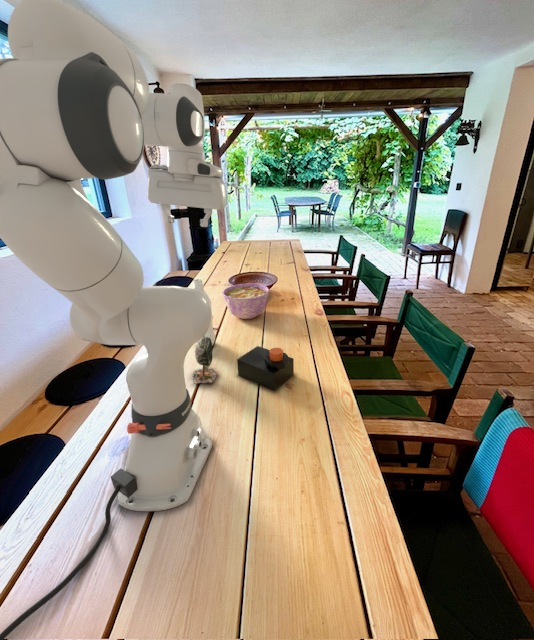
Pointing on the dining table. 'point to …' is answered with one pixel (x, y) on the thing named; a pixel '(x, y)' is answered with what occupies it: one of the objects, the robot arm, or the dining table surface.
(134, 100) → the robot arm
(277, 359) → the round orange button
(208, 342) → the plant with pod
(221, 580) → the dining table surface
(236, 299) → the bowl of food
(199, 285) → the water bottle
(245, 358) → the black button box
